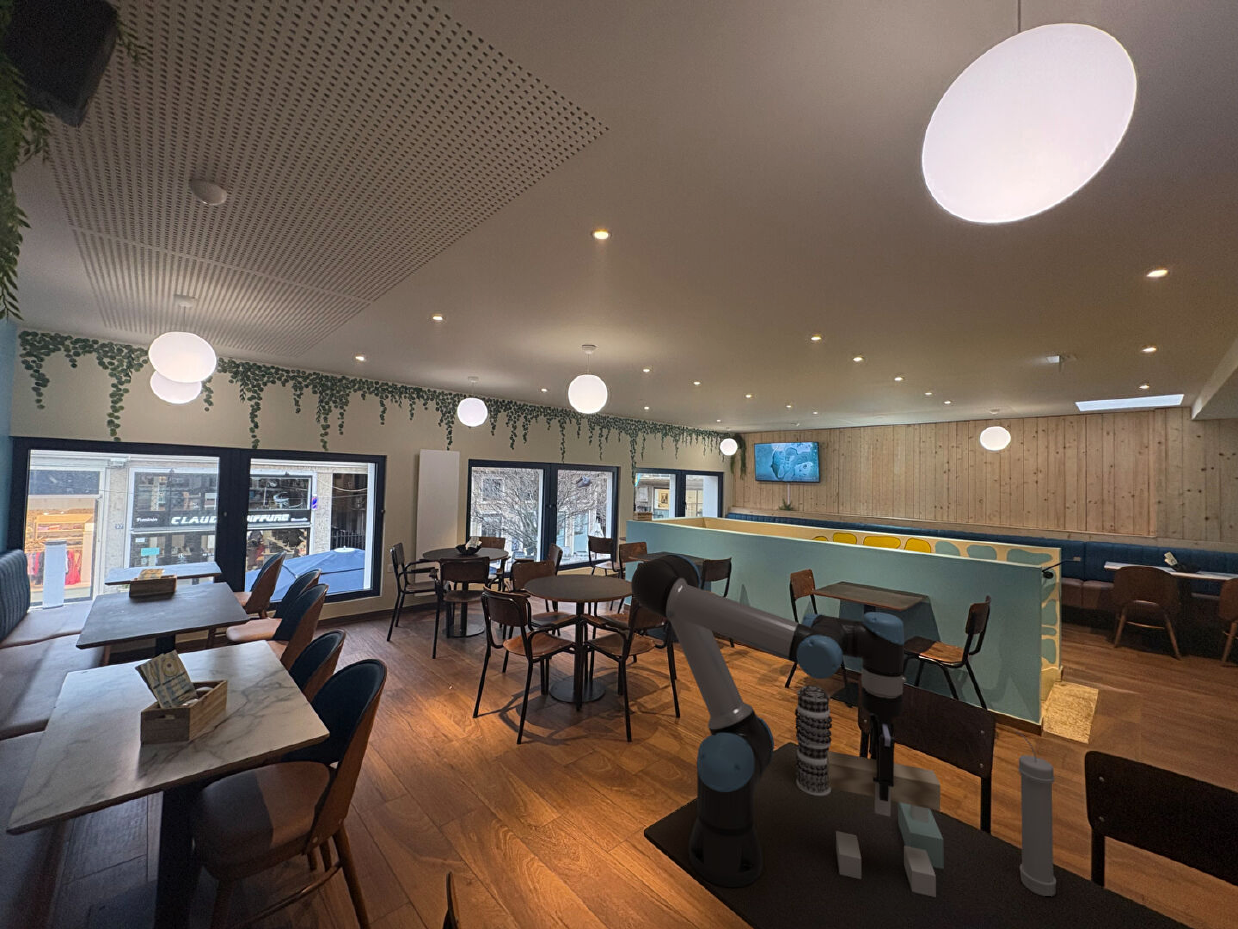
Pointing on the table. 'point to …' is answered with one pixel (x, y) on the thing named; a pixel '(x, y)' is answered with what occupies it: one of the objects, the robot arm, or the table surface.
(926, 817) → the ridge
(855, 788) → the wooden block
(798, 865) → the table surface
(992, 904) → the table surface
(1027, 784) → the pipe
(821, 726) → the studded grey cylinder
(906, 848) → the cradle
